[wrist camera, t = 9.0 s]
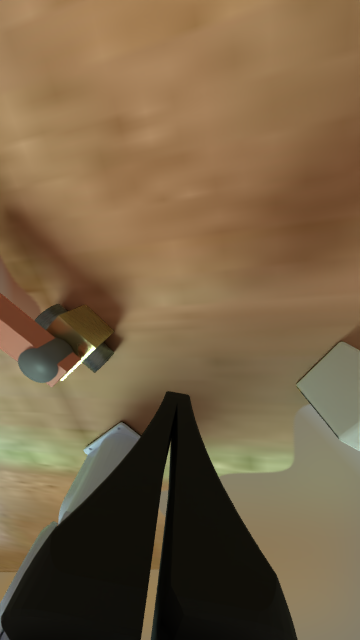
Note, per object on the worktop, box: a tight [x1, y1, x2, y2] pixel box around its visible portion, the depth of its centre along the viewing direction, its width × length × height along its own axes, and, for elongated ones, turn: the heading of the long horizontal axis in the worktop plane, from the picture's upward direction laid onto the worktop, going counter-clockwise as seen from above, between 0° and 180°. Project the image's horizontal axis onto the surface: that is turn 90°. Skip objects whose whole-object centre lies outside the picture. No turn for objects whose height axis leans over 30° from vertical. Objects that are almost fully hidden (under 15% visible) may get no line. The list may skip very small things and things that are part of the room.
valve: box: [35, 304, 114, 381], centre depth 19 cm, size 6×8×4 cm
